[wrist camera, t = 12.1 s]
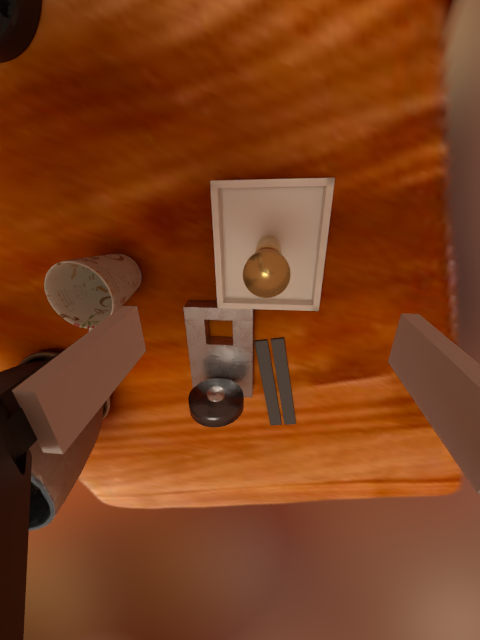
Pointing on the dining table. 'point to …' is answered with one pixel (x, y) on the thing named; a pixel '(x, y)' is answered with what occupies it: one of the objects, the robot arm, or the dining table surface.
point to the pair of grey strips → (282, 379)
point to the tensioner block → (219, 363)
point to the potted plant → (49, 468)
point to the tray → (271, 220)
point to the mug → (91, 287)
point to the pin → (267, 269)
